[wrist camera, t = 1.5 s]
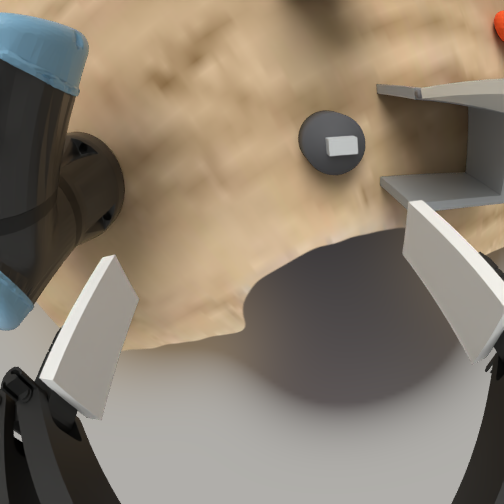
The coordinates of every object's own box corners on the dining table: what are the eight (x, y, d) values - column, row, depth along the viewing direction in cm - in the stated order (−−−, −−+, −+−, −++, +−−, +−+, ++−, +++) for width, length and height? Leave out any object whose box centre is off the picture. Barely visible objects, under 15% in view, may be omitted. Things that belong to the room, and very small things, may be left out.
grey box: (380, 185, 33) (415, 218, 25) (376, 84, 26) (419, 88, 18) (469, 179, 32) (508, 206, 24) (473, 96, 24) (519, 109, 16)
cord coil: (301, 169, 32) (309, 181, 28) (294, 112, 28) (302, 117, 24) (355, 163, 32) (370, 175, 28) (352, 109, 28) (367, 113, 24)
